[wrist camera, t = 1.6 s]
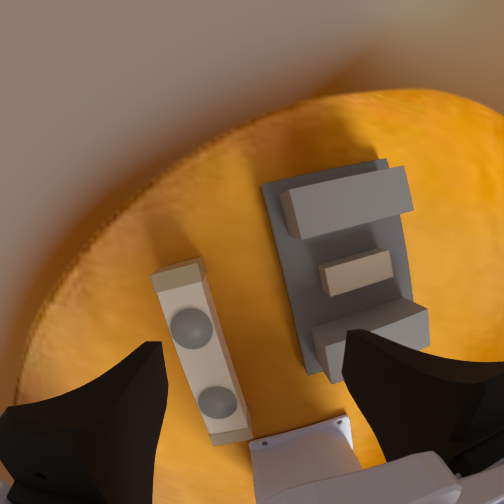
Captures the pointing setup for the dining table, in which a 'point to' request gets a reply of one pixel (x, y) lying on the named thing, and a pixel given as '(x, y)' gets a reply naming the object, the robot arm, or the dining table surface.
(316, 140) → the dining table surface
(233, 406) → the frame bar
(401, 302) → the grey fixture base
